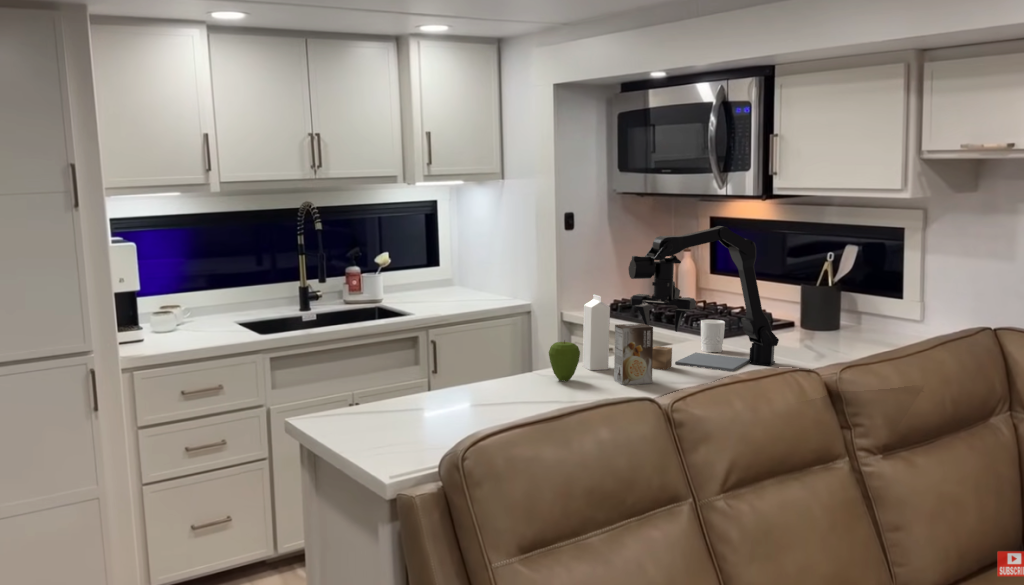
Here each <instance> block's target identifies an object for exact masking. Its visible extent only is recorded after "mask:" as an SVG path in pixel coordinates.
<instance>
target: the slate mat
mask: <svg viewBox="0 0 1024 585" xmlns="http://www.w3.org/2000/svg"><path fill="white" fill-rule="evenodd" d="M749 362H750V360H749V358H746V357H745V358H744V357H736V356H728V355H720V354H714V353H713V354H711V353H702V352H694V353H691V354H690V355H687V356H684V357H683V358H680V359H678V360H676V361H675V365H677V364H678V365H679V366H685V365H690V366H689V367H693V366H697V367H696V368H701V367H705V368H704V369H709V368H712V369H711V370H717V369H719V371H725V370H727V372H734V371H736V370H738V369H740V368H741V367H743V366H745V365H747V364H748V363H749ZM749 364H750V363H749ZM720 369H721V370H720Z"/></svg>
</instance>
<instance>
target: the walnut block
mask: <svg viewBox="0 0 1024 585" xmlns="http://www.w3.org/2000/svg"><path fill="white" fill-rule="evenodd" d="M672 358H673V347H670V346H669V347H668V346H658V345H656V346H653V359H652V369H653V368H654V370H661V369H662V370H663V371H666V370H668V368H669V369H670V367H671V368H672V363H673V359H672Z"/></svg>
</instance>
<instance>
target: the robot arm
mask: <svg viewBox="0 0 1024 585" xmlns="http://www.w3.org/2000/svg"><path fill="white" fill-rule="evenodd" d="M718 241H719V242H720V243H721V245H722V246H724V247H725V248H727V249H728V251H729V255H730V257H731V259H732V261H733V263H734V264H735V266H736V268H737V270H738V275H739V281H740V285H741V286H740V287H741V290H742V291H741V292H742V295H743V297H742V298H743V301H744V305H745V306H744V307H745V311H746V313H745V316H744V317H743V318H740V320H741V324H742V332H744V333H745V334H746V336H747V337H748V339H749V342H750V343H751V346H750V348H749V358H748V359H749V360H750V362H749V364H751V365H759V366H768V367H769V366H772V365H774V364H776V361H775V347H777V346H778V344H779V341H780V338H778V337H777V336H776V334H774V332H773V330H772V326H771V323H770V321H769V319H768V317H767V315H766V314H765V313H764V311H763V307H762V302H761V297H760V293H759V287H758V281H757V277H756V271H755V262H756V259H757V247H756V243H755V241H753V240H751V239H749V238H745V237H742V236H741V235H739V234H738V233H736V232H734V231H732V230H731V229H729V227H728V226H721V225H717V226H715V227H710V228H707V229H703V230H699V231H694V232H690V233H686V234H681V235H659V236H656V238H654V240H653V242H652V246H651V247H650V249H649V250H648V252H646V254H645V255H644V256H642V255H641V256H638V255H632V256H631V260H630V262H629V266H628V275H629V278H630V279H632V280H641V279H642V280H643V279H644V280H645V279H649V280H651V279H652V277H653V281H652V283H651V284H652V286H653V295H652V296H650V294H648V293H647V294H646V293H637V294H633V295H632V296H631V297H630V305H632V306H634V308H635V309H637V310H638V312H639V314H640V315H641V318H642V320H643V322H644V323H643V324H646V325H649V326H650V324H651V323H650V308H651V304H653V305H663V306H664V305H665V306H673V307H674V306H676V307H677V308H676V309H675V312H674V313H675V314H674V330H675V332H677V333H678V332H679V329H680V326H681V324H682V321H683V319H684V317H685V315H686V314H687V312H689V311H692V310H693V309H695V308H696V307H697V302H696V299H695V298H694V297H680V294H681V290H680V289H679V288H678V287H676V282H675V281H674V278H675V277H674V274H675V272H674V271H675V270H674V269H675V264H676V265H677V264H682V261H681V260H680V259H679V258H678V257H677V256H676V255H677V254H680V253H681V252H682V251H684V250H686V249H687V248H692V247H693V248H694V247H697V246H701V245H706V244H708V243H709V244H710V243H714V242H718Z"/></svg>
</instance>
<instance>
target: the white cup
mask: <svg viewBox="0 0 1024 585" xmlns="http://www.w3.org/2000/svg"><path fill="white" fill-rule="evenodd" d="M725 325H726V322H725V321H724V320H722V319H720V320H719V319H701V320H700V342H701V346H700V349H701V351H702V352H704V351H705V353H711V352H718V353H721V352H722V351H723V344H724V339H725V338H724V337H725V327H726V326H725Z"/></svg>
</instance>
